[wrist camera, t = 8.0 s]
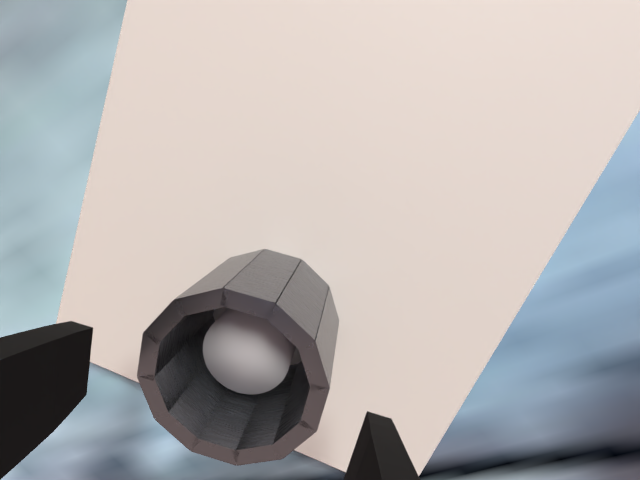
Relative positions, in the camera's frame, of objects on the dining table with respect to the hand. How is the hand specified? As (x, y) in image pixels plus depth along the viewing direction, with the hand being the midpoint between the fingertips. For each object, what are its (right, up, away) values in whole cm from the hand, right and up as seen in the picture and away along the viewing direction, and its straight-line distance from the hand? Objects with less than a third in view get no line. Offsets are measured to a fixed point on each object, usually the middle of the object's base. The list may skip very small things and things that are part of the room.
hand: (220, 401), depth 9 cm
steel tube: (+1, +1, +5) cm, 5 cm away
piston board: (+3, +7, +4) cm, 9 cm away
